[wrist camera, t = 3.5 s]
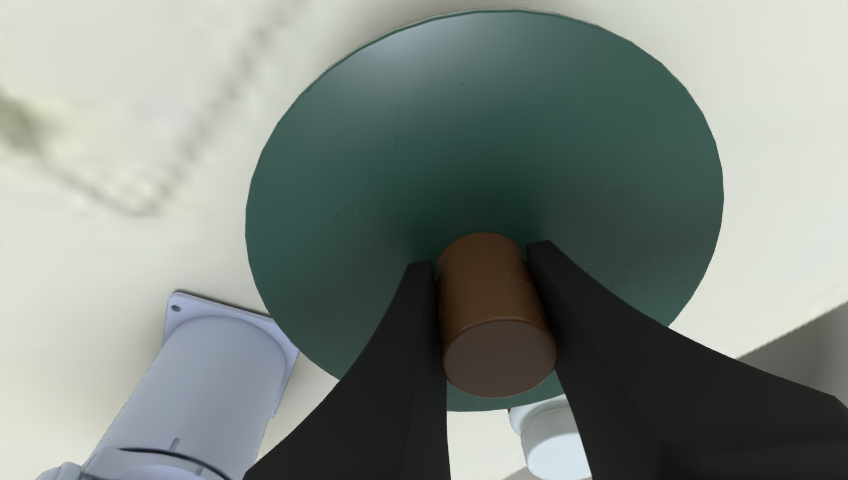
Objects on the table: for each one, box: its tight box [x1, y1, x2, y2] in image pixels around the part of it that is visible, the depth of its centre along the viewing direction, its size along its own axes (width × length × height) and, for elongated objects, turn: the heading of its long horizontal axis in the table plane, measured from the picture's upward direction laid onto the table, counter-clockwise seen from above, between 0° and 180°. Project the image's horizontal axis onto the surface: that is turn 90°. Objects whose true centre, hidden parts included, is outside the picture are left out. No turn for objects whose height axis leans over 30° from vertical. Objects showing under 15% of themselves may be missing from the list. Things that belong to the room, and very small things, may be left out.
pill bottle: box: [508, 394, 592, 480], centre depth 23 cm, size 5×5×8 cm
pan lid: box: [245, 8, 724, 412], centre depth 11 cm, size 13×13×4 cm
